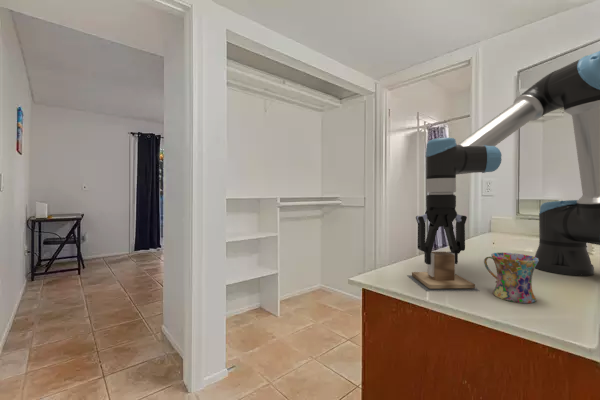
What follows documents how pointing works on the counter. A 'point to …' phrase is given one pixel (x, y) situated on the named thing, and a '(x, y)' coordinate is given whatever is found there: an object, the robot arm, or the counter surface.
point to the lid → (443, 274)
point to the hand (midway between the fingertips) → (441, 275)
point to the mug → (513, 276)
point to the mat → (440, 289)
